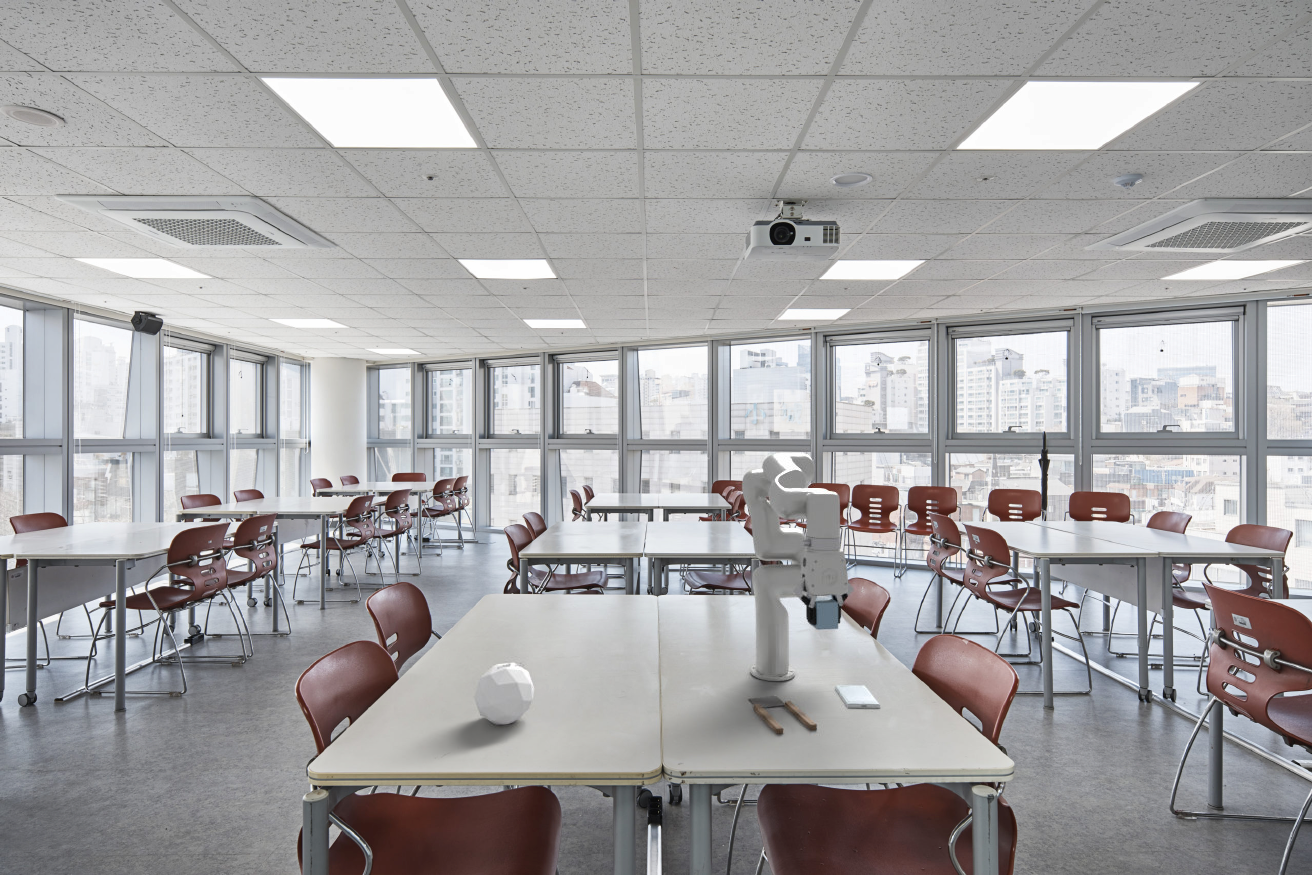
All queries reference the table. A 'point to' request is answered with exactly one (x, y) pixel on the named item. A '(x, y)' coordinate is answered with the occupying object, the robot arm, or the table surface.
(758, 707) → the guide channel
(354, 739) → the table surface
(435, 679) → the table surface
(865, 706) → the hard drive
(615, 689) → the table surface
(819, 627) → the block
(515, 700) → the geodesic sphere
